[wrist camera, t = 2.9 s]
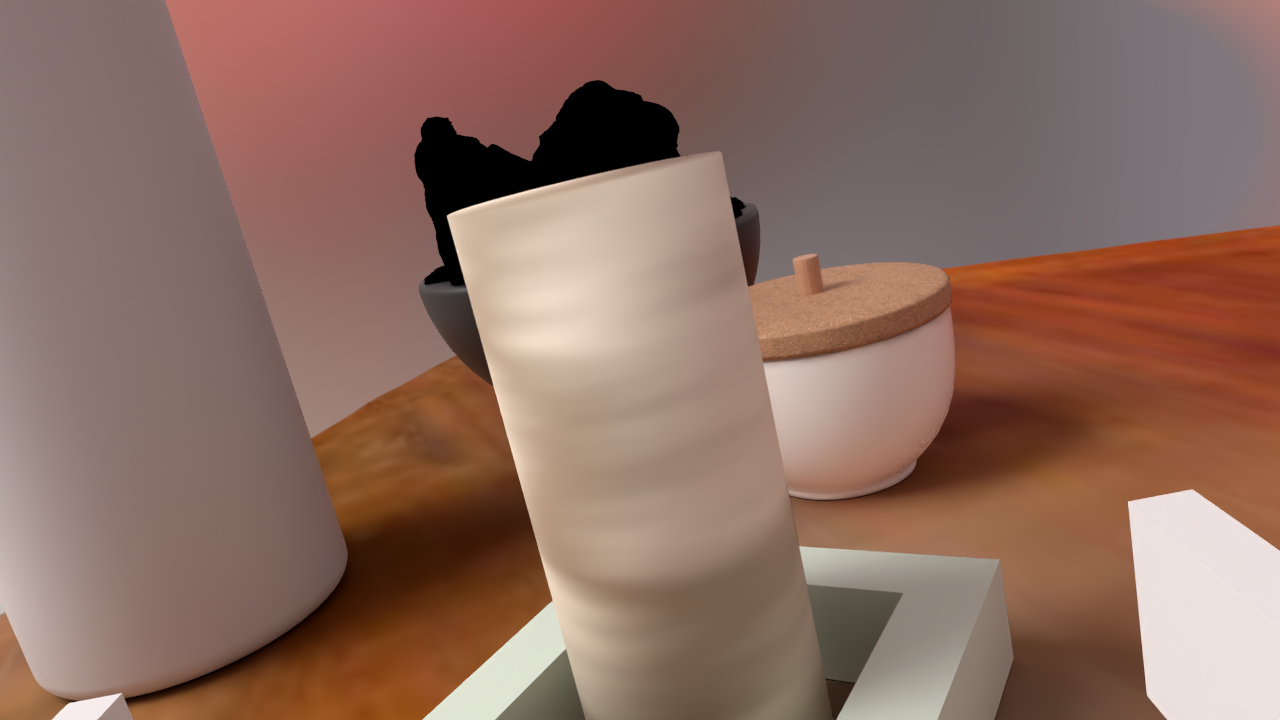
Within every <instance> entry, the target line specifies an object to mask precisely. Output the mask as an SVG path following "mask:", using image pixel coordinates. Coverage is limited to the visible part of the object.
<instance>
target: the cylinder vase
mask: <svg viewBox="0 0 1280 720" xmlns="http://www.w3.org/2000/svg"><path fill="white" fill-rule="evenodd" d="M347 558H348V552H347V546H346V543H345V540H344V537H343V534H342V531H341V528H340V525H339V522H338V519H337V516H336V513H335V510H334V507H333V504H332V501H331V498H330V495H329V492H328V489H327V486H326V483H325V480H324V477H323V474H322V471H321V468H320V465H319V462H318V459H317V456H316V453H315V450H314V447H313V444H312V441H311V438H310V435H309V432H308V429H307V426H306V423H305V420H304V417H303V414H302V411H301V408H300V405H299V402H298V399H297V396H296V393H295V390H294V387H293V384H292V381H291V378H290V375H289V372H288V369H287V366H286V363H285V360H284V357H283V353H282V350H281V347H280V345H279V341H278V338H277V335H276V332H275V330H274V327H273V323H272V320H271V317H270V314H269V311H268V308H267V306H266V303H265V299H264V297H263V293H262V290H261V287H260V285H259V282H258V279H257V275H256V272H255V269H254V267H253V263H252V260H251V257H250V254H249V251H248V248H247V245H246V242H245V240H244V236H243V234H242V230H241V227H240V224H239V221H238V218H237V215H236V212H235V210H234V206H233V204H232V200H231V197H230V194H229V191H228V188H227V185H226V183H225V179H224V176H223V173H222V170H221V167H220V164H219V161H218V159H217V156H216V153H215V149H214V146H213V143H212V141H211V137H210V134H209V131H208V128H207V125H206V122H205V120H204V116H203V113H202V110H201V107H200V104H199V101H198V98H197V95H196V92H195V89H194V86H193V83H192V80H191V77H190V74H189V71H188V68H187V65H186V62H185V59H184V56H183V53H182V50H181V47H180V44H179V41H178V38H177V35H176V32H175V29H174V26H173V23H172V20H171V17H170V14H169V11H168V8H167V5H166V2H165V0H0V601H1V603H2V606H3V608H4V610H5V613H6V615H7V617H8V619H9V622H10V624H11V626H12V628H13V631H14V633H15V635H16V637H17V640H18V642H19V644H20V647H21V649H22V651H23V653H24V656H25V658H26V660H27V662H28V665H29V667H30V669H31V671H32V674H33V676H34V678H35V679H36V681H37V682H38V684H39V685H40V686H41V687H42V688H44V689H45V690H46V691H48V692H50V693H51V694H53V695H56V696H58V697H61V698H65V699H69V700H76V701H83V700H89V699H94V698H99V697H104V696H110V695H115V694H120V693H122V694H123V696H124V698H129V697H134V696H139V695H143V694H147V693H151V692H155V691H159V690H162V689H166V688H169V687H172V686H175V685H178V684H181V683H184V682H187V681H190V680H193V679H195V678H198V677H200V676H203V675H205V674H208V673H210V672H213V671H215V670H217V669H220V668H222V667H224V666H226V665H228V664H231V663H233V662H235V661H237V660H239V659H241V658H243V657H245V656H247V655H249V654H251V653H252V652H254V651H256V650H258V649H260V648H261V647H263V646H265V645H267V644H268V643H270V642H272V641H273V640H275V639H277V638H278V637H280V636H281V635H283V634H284V633H286V632H287V631H289V630H290V629H292V628H293V627H294V626H296V625H297V624H298V623H300V622H301V621H302V620H304V619H305V618H306V617H307V616H309V615H310V614H311V613H312V612H313V611H314V610H316V609H317V608H318V607H319V606H320V605H321V604H322V603H323V602H324V601H325V600H326V599H327V598H328V596H329V595H330V594H331V593H332V592H333V590H334V589H335V588H336V586H337V585H338V583H339V581H340V580H341V578H342V576H343V574H344V571H345V568H346V564H347Z"/></svg>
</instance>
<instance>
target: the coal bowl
mask: <svg viewBox="0 0 1280 720" xmlns="http://www.w3.org/2000/svg"><path fill="white" fill-rule="evenodd" d="M451 123H452V122H450V121H449V118H441V117H433V118H427V119H426V121H425V122H424V123H423V126H422V127H421V136H422V141H421V142H420V143H419V145H418V146H417V149H416V153H415V155H414V157H415V168H416V173H417V175H418V177H419V179H420V180H421V181H422V182H423V184H424V188H425V201H426V208H427V211H428V212H429V215H430V217H431V218H432V221H433V224H434V227H435V230H436V240H437V243H438V250H439V254H440V256H441V258H442V260H443V263H444V265H445V266H442V267H439V268H437V269H436V270H434V272H432V273H431V274H430V275H429V276H427V277H426V278H425V279H424V280H423V281H422V282H421V283H420V284H419V293H420V296H421V299H422V301H423V303H424V306H425V308H426V310H427V312H428V314H429V316H430V318H431V320H432V322H433V323H434V325H435V327H436V328H437V330H438V332H439V333H440V335H441V336H442V337H443V339H444V340H445V341H446V343H447V344H448V346H449V347H450V348H451V349H452V350H453V352H454V353H455V354H456V355H457V356H458V357H459V358H460V359H461V361H462V362H463V363H465V364H466V365H467V366H468V367H469V368H470V369H471V370H472V371H473V372H474V373H476V374H477V375H478V376H480V377H481V378H482V379H484V380H485V381H486V382H488V383H489V384H491V385H492V386H494V385H493V382H492V378H491V374H490V371H489V367H488V363H487V360H486V356H485V352H484V349H483V345H482V342H481V338H480V334H479V331H478V327H477V323H476V320H475V316H474V313H473V309H472V305H471V302H470V298H469V294H468V291H467V287H466V284H465V280H464V276H463V273H462V269H461V265H460V262H459V258H458V254H457V251H456V247H455V244H454V240H453V236H452V233H451V229H450V225H449V222H448V218H447V215H449V214H451V213H453V212H456V211H458V210H461V209H464V208H467V207H471V206H474V205H477V204H481V203H484V202H488V201H491V200H495V199H498V198H502V197H506V196H509V195H513V194H517V193H521V192H525V191H529V190H532V189H536V188H540V187H544V186H548V185H552V184H557V183H561V182H565V181H569V180H573V179H577V178H582V177H586V176H590V175H595V174H599V173H604V172H608V171H613V170H617V169H622V168H626V167H631V166H636V165H640V164H645V163H650V162H655V161H660V160H665V159H670V158H676V157H681V156H680V154H679V153H678V151H677V149H676V148H677V146H678V144H677V138H678V133H679V125H678V123H677V121H676V119H675V118H674V117H673V114H672V113H671V112H670V111H669V110H668V109H666V108H665V107H663V106H661V105H659V104H656V103H652V102H647V101H643V100H642V97H641V95H639V94H635V93H634V92H628V91H625V90H616V89H614V88H612V87H611V86H610V85H608V84H607V83H605V82H603V81H599V80H596V81H590V82H587V83H585V84H584V85H583V87H580V88H579V89H577V90H576V91H574V92H573V93H571V95H570V96H569V98H568V99H567V100H566V101H565V102H564V104H563V107H562V108H561V109H560V112H559V113H558V114H557V116H556V121H555V122H554V123H553V124H552V125H551V126H550V128H549V129H548V130H547V131H545V132H544V133H543V134H542V135H540V136H539V138H540V145H539V147H538V149H537V150H536V151H535V153H534V154H533V159H532V161H528V160H526V159H523V158H521V157H519V156H516V155H513V154H511V153H510V152H508V151H506V150H504V149H502V148H501V147H499V146H498V145H495V144H491V145H490V146H489V147H488V148H487V147H486V146H484V145H483V144H481V143H480V142H479V140H477V138H474V137H469V136H462V135H457V134H456V133H457V132H456V131H455V130H454V128H453V126H452V125H451ZM686 156H687V155H686ZM730 199H731V204H732V209H733V214H734V219H735V224H736V229H737V234H738V239H739V244H740V249H741V254H742V259H743V264H744V269H745V275H746V280H747V285H748V287H749V286H752V285H754V281H755V277H756V273H757V267H758V261H759V252H760V222H759V213H758V210H757V208H756V206H755V205H754V204H750V203H743V202H742V201H740V200H738V199H737V198H736V197H734V198H731V196H730Z"/></svg>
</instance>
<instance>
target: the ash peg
mask: <svg viewBox="0 0 1280 720" xmlns="http://www.w3.org/2000/svg"><path fill="white" fill-rule="evenodd" d="M447 218H448V222H449V225H450V229H451V233H452V236H453V240H454V244H455V247H456V251H457V254H458V258H459V262H460V265H461V269H462V273H463V276H464V280H465V284H466V287H467V291H468V294H469V298H470V302H471V305H472V309H473V313H474V316H475V320H476V323H477V327H478V331H479V334H480V338H481V342H482V345H483V349H484V352H485V356H486V360H487V363H488V367H489V371H490V374H491V378H492V382H493V385H494V389H495V392H496V396H497V400H498V403H499V407H500V411H501V414H502V418H503V421H504V425H505V429H506V432H507V436H508V440H509V443H510V447H511V451H512V454H513V458H514V461H515V465H516V469H517V472H518V476H519V480H520V483H521V487H522V490H523V494H524V498H525V501H526V505H527V509H528V512H529V516H530V520H531V523H532V527H533V530H534V534H535V538H536V541H537V545H538V549H539V552H540V556H541V559H542V563H543V567H544V570H545V574H546V578H547V581H548V585H549V589H550V592H551V596H552V599H553V603H554V607H555V610H556V614H557V618H558V621H559V625H560V628H561V632H562V636H563V639H564V643H565V647H566V650H567V654H568V657H569V661H570V665H571V668H572V672H573V676H574V679H575V683H576V687H577V690H578V694H579V697H580V701H581V705H582V708H583V712H584V716H585V719H586V720H834V719H833V714H832V709H831V704H830V699H829V694H828V689H827V684H826V679H825V674H824V669H823V664H822V659H821V654H820V649H819V644H818V639H817V633H816V628H815V623H814V618H813V613H812V608H811V603H810V598H809V593H808V588H807V583H806V578H805V573H804V568H803V563H802V558H801V553H800V548H799V542H798V537H797V532H796V527H795V522H794V517H793V512H792V507H791V502H790V497H789V492H788V487H787V482H786V477H785V472H784V467H783V462H782V457H781V451H780V446H779V441H778V436H777V431H776V426H775V421H774V416H773V411H772V406H771V401H770V396H769V391H768V386H767V381H766V376H765V371H764V366H763V360H762V355H761V350H760V345H759V340H758V335H757V330H756V325H755V320H754V315H753V310H752V305H751V300H750V295H749V290H748V285H747V280H746V275H745V269H744V264H743V259H742V254H741V249H740V244H739V239H738V234H737V229H736V224H735V219H734V214H733V209H732V204H731V199H730V194H729V189H728V184H727V179H726V173H725V168H724V163H723V158H722V153H721V152H719V151H718V152H707V153H699V154H693V155H687V156H681V157H676V158H670V159H665V160H660V161H655V162H650V163H645V164H640V165H636V166H631V167H626V168H622V169H617V170H613V171H608V172H604V173H599V174H595V175H590V176H586V177H582V178H577V179H573V180H569V181H565V182H561V183H557V184H552V185H548V186H544V187H540V188H536V189H532V190H529V191H525V192H521V193H517V194H513V195H509V196H506V197H502V198H498V199H495V200H491V201H488V202H484V203H481V204H477V205H474V206H471V207H467V208H464V209H461V210H458V211H456V212H453V213H451V214H449V215H447Z"/></svg>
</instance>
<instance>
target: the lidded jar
mask: <svg viewBox="0 0 1280 720" xmlns="http://www.w3.org/2000/svg"><path fill="white" fill-rule="evenodd" d="M793 265H794V270H795V274H794V275H791V276H786V277H781V278H778V279H774V280H769V281H766V282H762V283H759V284H755V285H752V286H749V287H748V290H749V295H750V300H751V305H752V310H753V315H754V320H755V325H756V330H757V335H758V340H759V345H760V350H761V355H762V360H763V366H764V371H765V376H766V381H767V386H768V391H769V396H770V401H771V406H772V411H773V416H774V421H775V426H776V431H777V436H778V441H779V446H780V451H781V457H782V462H783V467H784V472H785V477H786V482H787V487H788V492H789V495H790V496H793V497H797V498H802V499H809V500H839V499H847V498H854V497H859V496H864V495H868V494H872V493H875V492H878V491H881V490H884V489H887V488H889V487H891V486H893V485H895V484H897V483H899V482H901V481H902V480H904V479H905V478H906V477H908V476H909V475H910V474H911V473H912V472H913V470H914V469H915V467H916V464H917V458H918V457H919V456H920V455H921V454H922V453H923V452H924V451H925V450H926V449H927V447H928V446H929V445H930V444H931V442H932V441H933V440H934V438H935V437H936V435H937V434H938V432H939V430H940V428H941V426H942V424H943V422H944V420H945V418H946V415H947V413H948V410H949V406H950V403H951V399H952V396H953V387H954V378H955V341H954V331H953V321H952V315H951V308H950V304H951V302H952V292H951V284H950V278H949V276H948V275H947V274H946V273H945V272H944V271H943V270H941V269H939V268H936V267H933V266H930V265H925V264H917V263H905V262H888V263H887V262H886V263H867V264H857V265H848V266H840V267H832V268H827V269H820V264H819V259H818V254H808V255H803V256H799V257H796V258H794V259H793Z"/></svg>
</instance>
